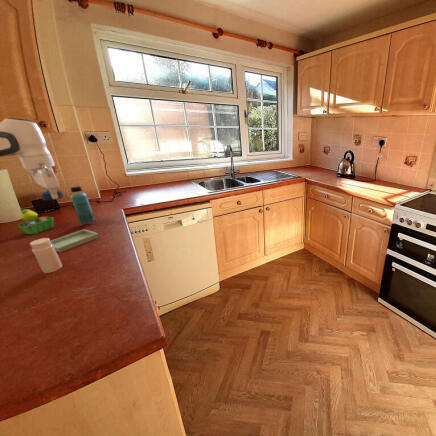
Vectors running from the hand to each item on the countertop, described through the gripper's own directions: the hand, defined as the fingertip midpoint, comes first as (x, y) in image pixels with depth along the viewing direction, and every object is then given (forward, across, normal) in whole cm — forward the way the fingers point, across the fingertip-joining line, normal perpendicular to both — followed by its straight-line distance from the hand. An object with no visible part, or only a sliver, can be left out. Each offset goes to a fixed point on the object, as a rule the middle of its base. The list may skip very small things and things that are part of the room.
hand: (52, 197), depth 99 cm
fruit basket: (+22, +34, +5) cm, 41 cm away
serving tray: (+22, +2, -1) cm, 22 cm away
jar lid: (-2, 0, 0) cm, 2 cm away
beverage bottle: (+22, +22, -12) cm, 33 cm away
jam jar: (+22, -20, +11) cm, 31 cm away
